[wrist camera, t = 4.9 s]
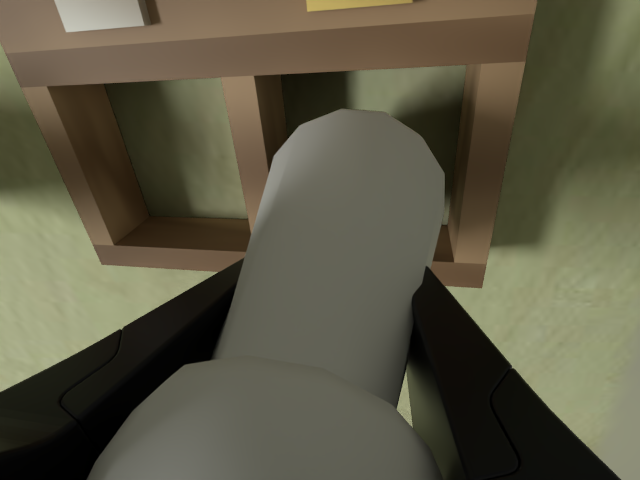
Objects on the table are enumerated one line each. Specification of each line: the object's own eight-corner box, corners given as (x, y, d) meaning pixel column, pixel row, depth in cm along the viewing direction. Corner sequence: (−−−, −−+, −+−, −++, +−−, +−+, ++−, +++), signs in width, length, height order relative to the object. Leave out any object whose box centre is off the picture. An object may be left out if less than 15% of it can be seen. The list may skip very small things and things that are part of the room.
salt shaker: (456, 102, 12) (842, 760, 2) (423, 246, 15) (476, 809, 5) (284, 87, 13) (-262, 462, 2) (285, 228, 16) (51, 675, 5)
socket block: (471, 248, 18) (483, 294, 15) (137, 234, 21) (96, 269, 19) (536, -152, 11) (582, -208, 8) (21, -72, 14) (-72, -89, 12)
